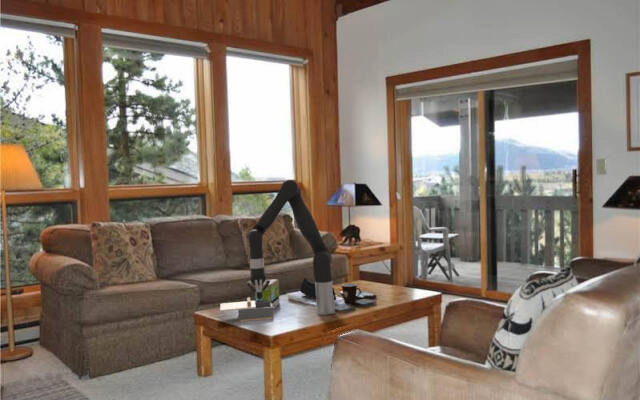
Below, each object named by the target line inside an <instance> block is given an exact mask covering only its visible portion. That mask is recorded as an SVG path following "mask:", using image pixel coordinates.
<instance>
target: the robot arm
mask: <svg viewBox="0 0 640 400" xmlns="http://www.w3.org/2000/svg"><path fill="white" fill-rule="evenodd" d="M287 203H288V204H289V205H290V207H291V211H292V213H293V214H292V215H293V217H294V220H295V223H296V225H297V227H298V230H299V231H300V233H301V235H302V237H304V239H305V240H306V241H307V243H308V244H309V245H310V248H311V250H312V251H313V257H312V267H313V277H314V283H315V288H316V299H315V303H316V304H315V305H316V306H315V307H316V314H317V315H320V316H321V315H322V316H325V315H326V316H327V315H332V314H335V313H336V311H335V310H336V308H335V301H334V295H333V288H334V287H333V286H334V285H333V275H332V273H331V271H332V270H331V264H332V262H333V257H332V254H331V252H330V250H329V248H328V247H327V245H326V244H325V242H324V240H323V238H322V235H321V233H320V231H319V229H318V226H317V224H316V221H315V220H314V218H313V215H312V213H311V212H310V210H309V209H308V207H307V205H306V203H304V200H303V197H302V194H301V192H300V189H299V186H298V183H297V182H296V181H295V180H294V179H286V180H285V181H283V182H282V183H281V187H280V189H279V191H278V192H277V194H276V196H275V197H274V199H273V201H272V202H271V203H270V204H269V206H268V207H267V208H266V210H264V211H263V213H262V215H261V216H260V218H259V219H258V221H257V222H256V223H255V224H254V226H253V227H252V228H251V230H250V231H249V232H248V235H247V236H248V242H249V243H248V244H249V267H250V278H249V280H248V281H247V282H246V285H247V286H248V287H249V288H250V289H251V290H252V291H253V292H256V294H257V298H258V299H261V298H262V291H263V290H265V289H266V288H267V286H268V285H269V283H270V280H271V279H267V277H266V272H265V271H266V270H265V261H264V252H263V251H264V250H263V236H264V234H265V233H266V231H267V230H269V228H270V227H272V225H273V223H275V220H276V219H277V218H278V215H280V212H281V211H282V209H283V208H284V206H285V205H286V204H287ZM264 282H265V283H266V284H265V285H264V287H263V288H262V285H263V283H264ZM252 284H253V285H252ZM258 285H259V290H258ZM255 286H256V289H255Z"/></svg>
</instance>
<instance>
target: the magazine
mask: <svg viewBox="0 0 640 400" xmlns="http://www.w3.org/2000/svg"><path fill="white" fill-rule="evenodd" d="M300 293H301V294H303V295H304V296H305V295H306V296H305V297H308V296H309V297H308V298H311V297H313V298H316V288H315V281H314V282H313V281H311V280H310V279H308V278H307V277H305V278H303V281H302V282H301V285H300ZM333 295H334V302H335V301H337V297H336V292H335V289H334V287H333ZM313 298H312V299H313Z"/></svg>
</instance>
